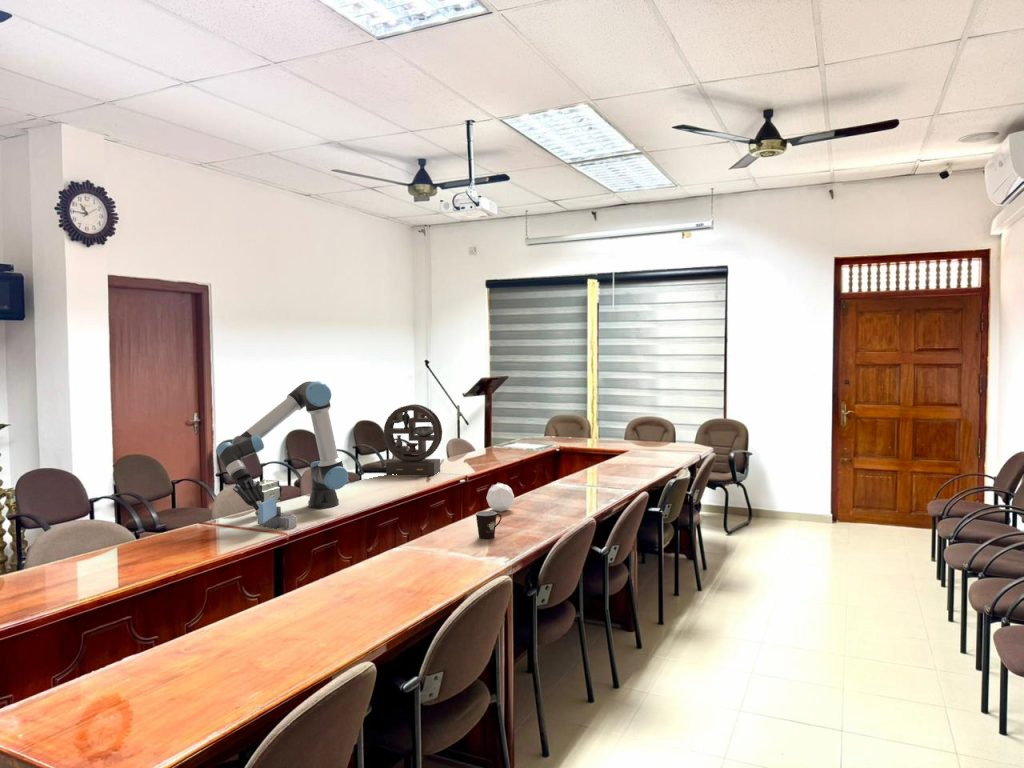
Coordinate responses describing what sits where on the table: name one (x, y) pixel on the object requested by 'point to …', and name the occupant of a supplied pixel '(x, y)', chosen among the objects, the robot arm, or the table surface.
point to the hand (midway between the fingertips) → (264, 514)
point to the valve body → (280, 521)
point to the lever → (268, 510)
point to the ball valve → (270, 490)
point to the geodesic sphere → (500, 497)
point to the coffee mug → (487, 524)
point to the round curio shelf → (406, 459)
